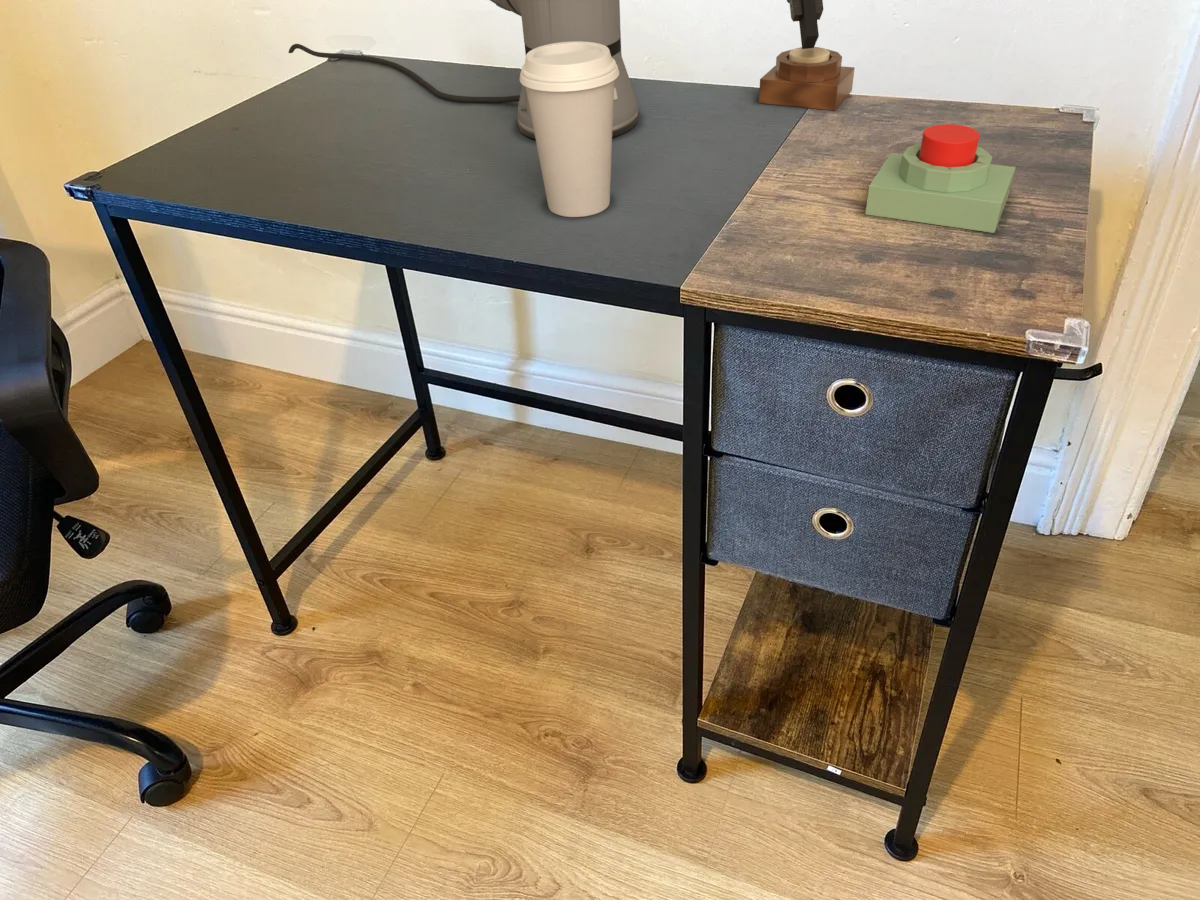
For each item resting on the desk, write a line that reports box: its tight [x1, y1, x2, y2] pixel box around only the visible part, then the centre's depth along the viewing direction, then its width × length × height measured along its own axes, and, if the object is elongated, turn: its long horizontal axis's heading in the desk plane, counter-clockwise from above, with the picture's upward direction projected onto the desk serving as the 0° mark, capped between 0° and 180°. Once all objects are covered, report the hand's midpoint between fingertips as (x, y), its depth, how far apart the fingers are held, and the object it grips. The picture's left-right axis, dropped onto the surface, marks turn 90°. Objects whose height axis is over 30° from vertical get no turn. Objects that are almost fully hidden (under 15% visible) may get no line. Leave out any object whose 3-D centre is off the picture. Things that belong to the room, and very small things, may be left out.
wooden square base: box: [758, 48, 855, 111], centre depth 113 cm, size 10×8×5 cm
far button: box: [789, 46, 830, 63], centre depth 111 cm, size 5×5×2 cm
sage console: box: [864, 141, 1016, 234], centre depth 85 cm, size 12×9×5 cm
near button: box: [919, 123, 980, 167], centre depth 83 cm, size 5×5×2 cm
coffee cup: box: [519, 41, 619, 218], centre depth 87 cm, size 10×10×15 cm
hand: (810, 42), depth 110 cm, fingers closed
